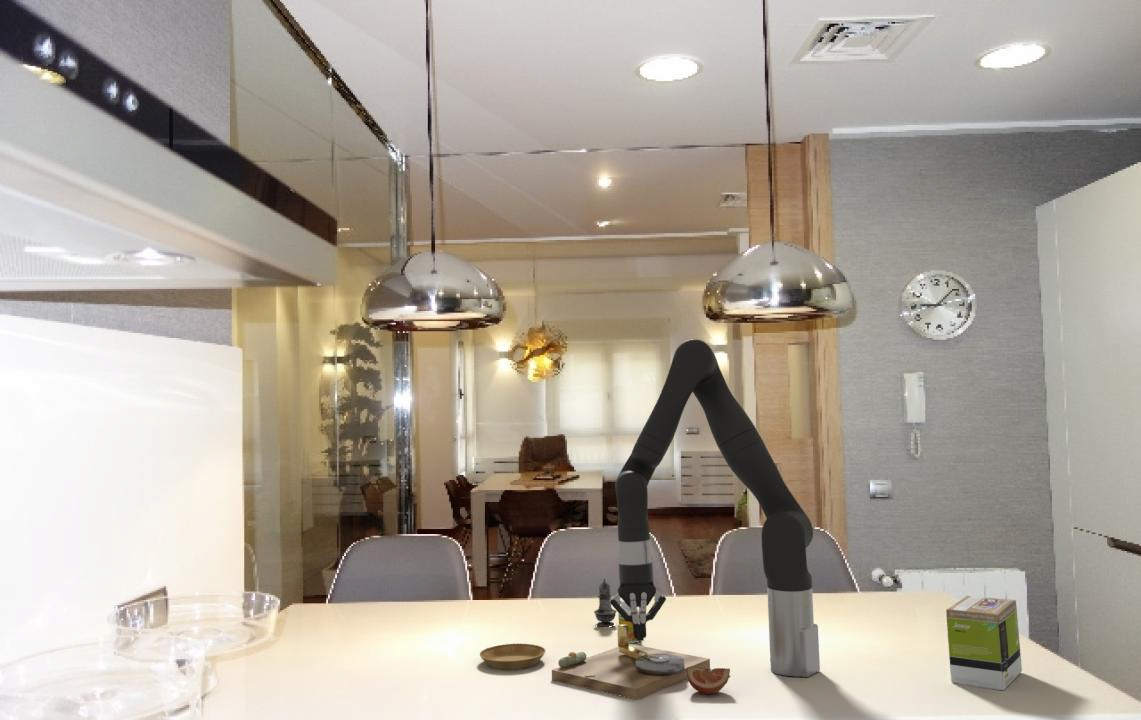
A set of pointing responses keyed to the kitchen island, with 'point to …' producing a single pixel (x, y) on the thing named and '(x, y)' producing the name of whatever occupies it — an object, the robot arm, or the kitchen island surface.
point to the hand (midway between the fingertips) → (639, 639)
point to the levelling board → (620, 672)
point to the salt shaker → (604, 606)
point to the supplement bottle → (630, 626)
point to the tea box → (984, 642)
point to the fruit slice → (707, 679)
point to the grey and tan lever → (649, 657)
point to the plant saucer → (512, 656)
